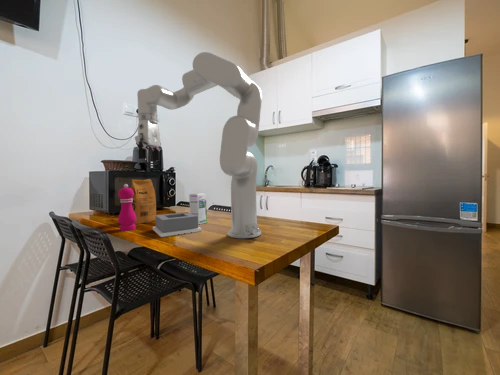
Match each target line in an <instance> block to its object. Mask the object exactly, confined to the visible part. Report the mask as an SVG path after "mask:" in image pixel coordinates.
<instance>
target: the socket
mask: <svg viewBox="0 0 500 375" xmlns="http://www.w3.org/2000/svg"><path fill="white" fill-rule="evenodd" d="M155 220H156V221H155V226H152V231H153V232H155V233H156V234H157V235H158V236H159V237H160V238H164V237H170V236H176V235H177V236H178V234H179V235H184V233H185V234H191V232H192V233H199V232H202V227H200V226H199V225H198V216H196V215H194V214H191V213H190V212H186V211H185V212H177V213H168V214H167V213H165V214H156V215H155Z"/></svg>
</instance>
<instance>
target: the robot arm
mask: <svg viewBox="0 0 500 375" xmlns="http://www.w3.org/2000/svg"><path fill="white" fill-rule="evenodd" d="M181 80H182V85H183V87H182V88H181V89H179V90H176V91H174V92H173V91H171V90H170V89H167V88H166V87H163V86H161V85H159V84H153V85H151V86H149V87H147V88H140V89H139V90H138V91H137V114H138V115H137V117H138V124H137V135H136V136H134V140H135V144H136V145H137V149H138V159H140V160H144V159H145V160H146V159H147V148H146V147H149V148H151V150H152V153H151V154H152V157H151V158H152V161H160V151H161V148H162V146H161V145H162V143H161V135H160V134H161V133H160V129H159V124H158V106H160V107H162V108H165V109H167V110H177V109H180V108H183V107H185V106H187V105H188V104H189V103H190V102H191V101H192V100H193V99H194V97H195V96H196V95H198V94H200V93H203V92H206V91H208V90H210V89H213V88H215V87H217V86H219V87H220V88H223V89H224V90H225V91H227V93H229V94H230V95H232V96H233V97H235V98H236V99H238V100H239V103H238V105H237V111H236V115H234V116H231V117H229V118H228V119H227V121H226V122H225V124H224V126H223V128H222V134H221V144H220V153H219V164H220V166H219V167H220V169H221V171H223V173H225V175H228V176H230V177H231V180H230V181H231V182H230V207H231V208H230V211H231V217H230V218H231V229H230V230H228V232H227V236H228V237H229V238H233V239H251V238H252V239H253V238H257V237H260V236H261V235H262V231H261V228H259V226H258V220H257V176H258V175H257V174H258V163H257V159H256V157H255V155H254V154H252V153H251V152H250V151H248V148H250V147H252V146H254V145H255V144H256V143H257V141H258V137H259V129H260V128H259V127H260V120H261V110H262V102H263V95H262V90H261V88H260V87H259V85H257V83H255V82H254V81H253V80H251V78H249V76H247V74H246V73H245V72H244V71H243V70H242V69H241V68H240V67H239V66H238V65H237V64H236V63H234V62H233V61H230V60H227V59H226V58H225V59H224V58H222V57H220V56H218V55H215V54H213V53H211V52H209V51H203V52H199V53H198V54H196V56H195V57H194V58H193V60H192V70H189V71H186V72H184V73H183V74H182V77H181Z"/></svg>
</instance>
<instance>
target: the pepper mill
mask: <svg viewBox="0 0 500 375" xmlns="http://www.w3.org/2000/svg"><path fill="white" fill-rule="evenodd" d="M117 193H118V194H117V195H118V198H120V202H119V203H121V204H120V205H121V206H120V207H121V209H120V212H119V215H118V218H117V222H118V223H119V231H121V232H126V231H132V230H136V228H137V226H136V225H137V224H134V223H135V222H136V220H137V219H136V215H135V213H134V211H133V208H132V202H133V199H132V197H133V195H134V191H133V190H132V189H131V187H129V185H128V184H127V183H124V184H123V187H122V188H120V189H119V190H118V192H117Z"/></svg>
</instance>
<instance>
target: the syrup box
mask: <svg viewBox="0 0 500 375" xmlns="http://www.w3.org/2000/svg"><path fill="white" fill-rule="evenodd" d="M188 197H189V213H191V214H194V215H196V216H198V226H199V224H200V225H203V224H207V223H208V217H207V216H208V214H207V213H208V211H207V194H206V193H205V192H200V193H199V192H198V193H190V194H189V195H188Z"/></svg>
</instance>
